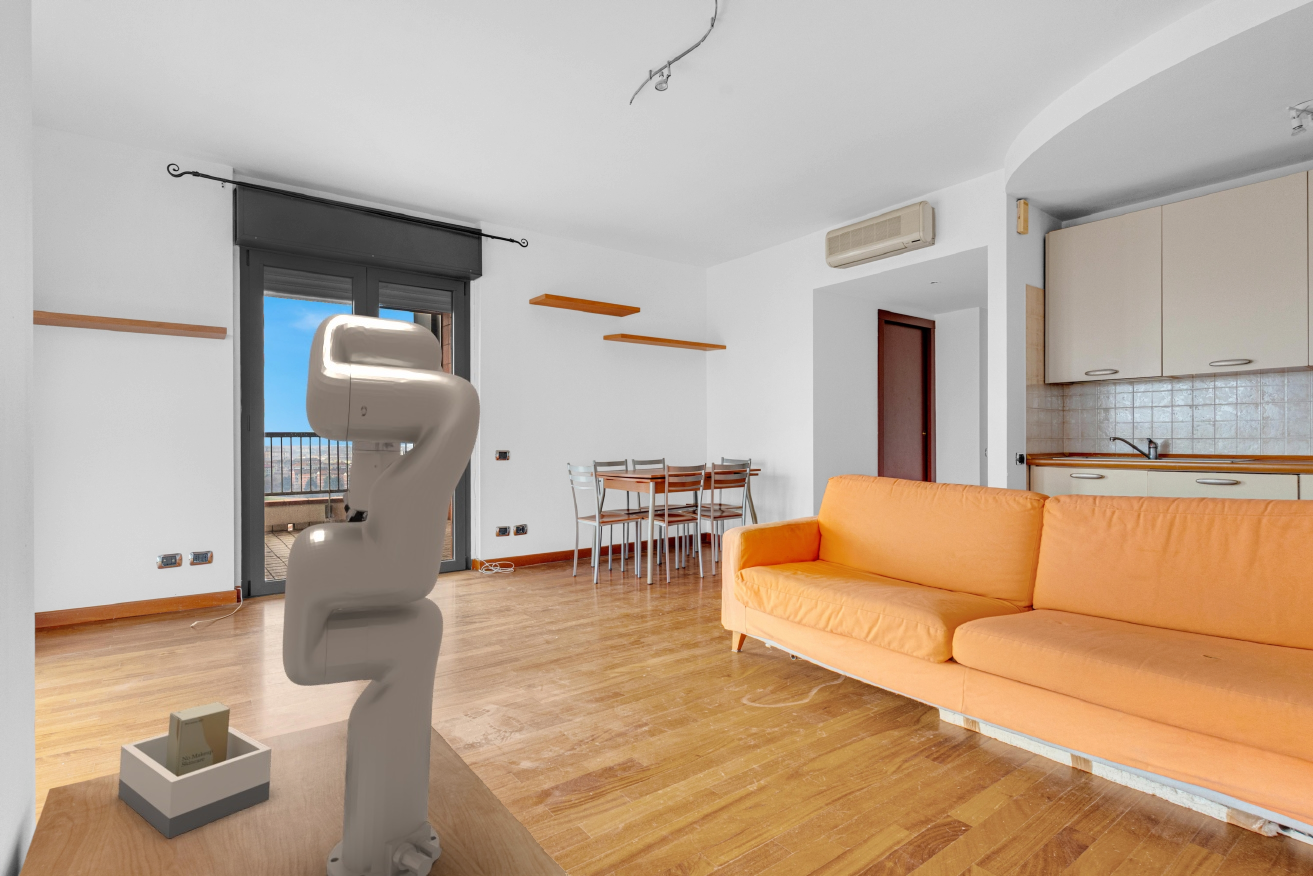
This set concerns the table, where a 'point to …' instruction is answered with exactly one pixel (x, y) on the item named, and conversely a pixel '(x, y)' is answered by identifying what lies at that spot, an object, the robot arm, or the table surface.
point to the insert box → (193, 783)
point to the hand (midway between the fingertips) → (372, 546)
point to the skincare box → (197, 738)
